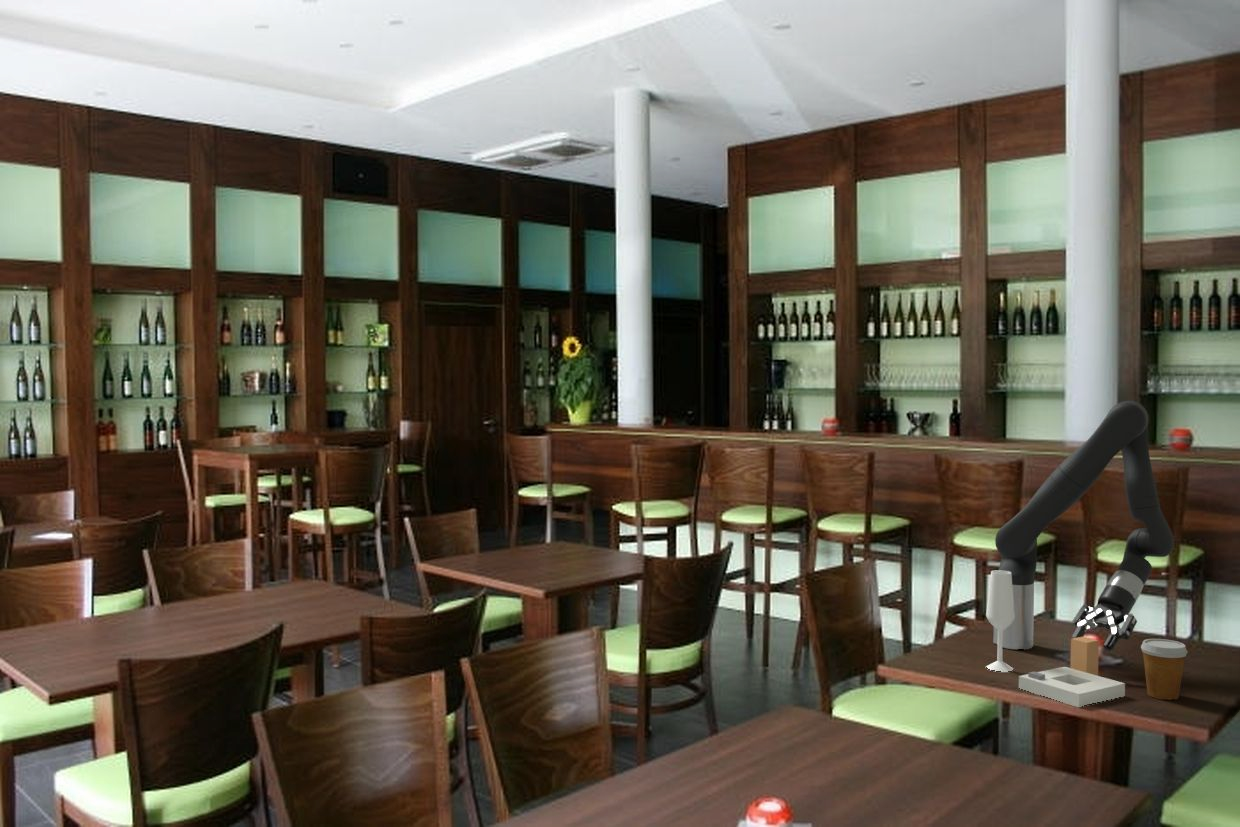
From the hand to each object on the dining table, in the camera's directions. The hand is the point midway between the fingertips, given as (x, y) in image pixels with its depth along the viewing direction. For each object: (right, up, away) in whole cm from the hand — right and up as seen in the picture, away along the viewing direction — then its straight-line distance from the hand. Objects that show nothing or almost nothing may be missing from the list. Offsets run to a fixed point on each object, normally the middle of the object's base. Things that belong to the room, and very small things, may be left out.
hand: (1090, 645), depth 262 cm
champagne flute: (-20, -7, +6) cm, 22 cm away
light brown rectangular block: (-2, -7, -1) cm, 8 cm away
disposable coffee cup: (+9, -8, -16) cm, 20 cm away
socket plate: (-10, -8, -14) cm, 19 cm away
